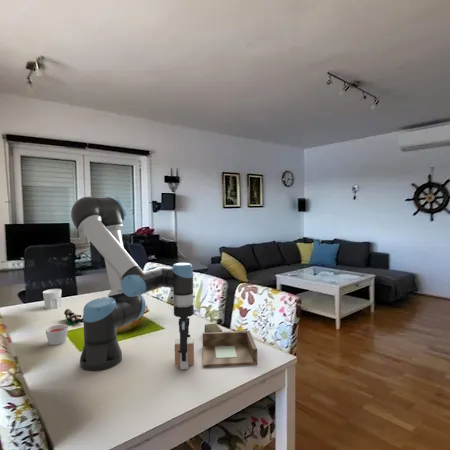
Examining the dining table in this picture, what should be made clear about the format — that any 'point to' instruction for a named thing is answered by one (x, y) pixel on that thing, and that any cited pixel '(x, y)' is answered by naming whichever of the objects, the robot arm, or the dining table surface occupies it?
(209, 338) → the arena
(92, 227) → the robot arm
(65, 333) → the candle
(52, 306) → the cup
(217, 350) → the sage pad
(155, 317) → the dining table surface
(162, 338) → the dining table surface
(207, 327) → the stone block
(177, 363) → the terracotta block
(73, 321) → the figurine
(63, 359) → the dining table surface
